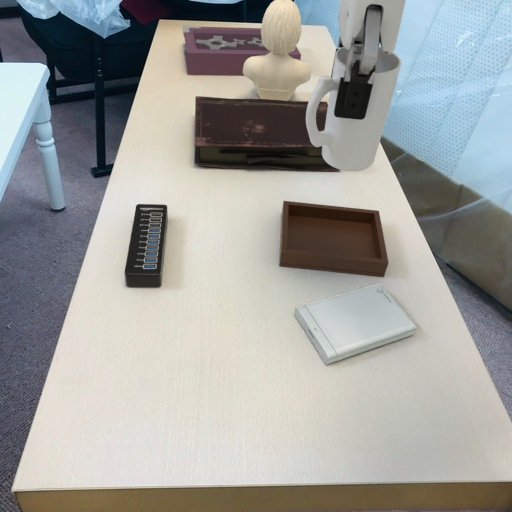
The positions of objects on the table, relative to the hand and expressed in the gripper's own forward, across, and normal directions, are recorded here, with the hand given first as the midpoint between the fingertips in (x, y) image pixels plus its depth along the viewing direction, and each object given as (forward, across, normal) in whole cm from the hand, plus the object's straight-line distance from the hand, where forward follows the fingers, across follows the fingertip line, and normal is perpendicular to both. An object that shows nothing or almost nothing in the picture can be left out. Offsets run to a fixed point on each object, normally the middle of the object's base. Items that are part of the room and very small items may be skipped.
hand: (346, 99), depth 55 cm
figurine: (+24, +48, +7) cm, 54 cm away
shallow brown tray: (+24, +4, -3) cm, 24 cm away
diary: (+24, +30, +8) cm, 39 cm away
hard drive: (+24, -11, -5) cm, 27 cm away
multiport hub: (+24, -1, +23) cm, 33 cm away
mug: (+8, 0, 0) cm, 8 cm away
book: (+24, +67, +16) cm, 72 cm away
